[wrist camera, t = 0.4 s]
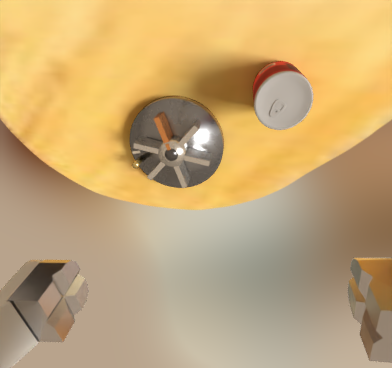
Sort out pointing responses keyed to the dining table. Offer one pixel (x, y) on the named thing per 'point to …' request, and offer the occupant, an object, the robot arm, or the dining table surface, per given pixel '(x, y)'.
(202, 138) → the disc
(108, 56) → the dining table surface
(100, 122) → the dining table surface
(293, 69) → the canned food
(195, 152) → the finned rotor disc
